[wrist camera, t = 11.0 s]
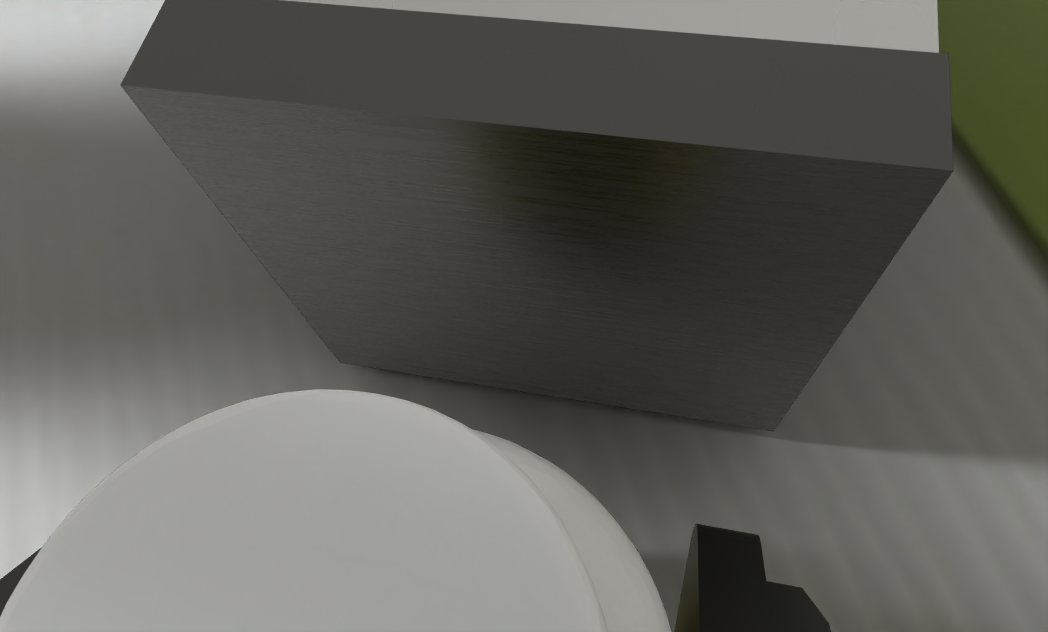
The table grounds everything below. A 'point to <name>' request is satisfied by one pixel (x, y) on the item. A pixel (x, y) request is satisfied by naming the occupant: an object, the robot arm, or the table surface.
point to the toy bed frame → (565, 179)
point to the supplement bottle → (336, 532)
